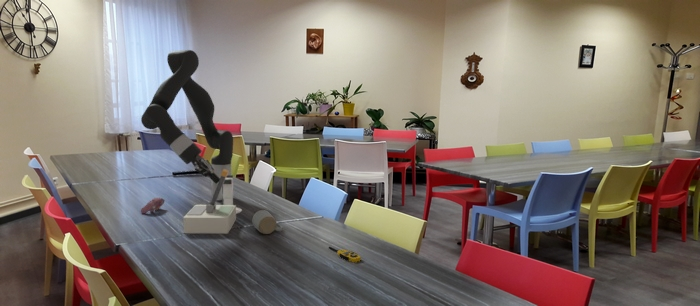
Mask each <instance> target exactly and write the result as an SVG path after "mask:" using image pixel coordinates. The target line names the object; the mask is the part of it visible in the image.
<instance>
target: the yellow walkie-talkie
mask: <svg viewBox="0 0 700 306" xmlns="http://www.w3.org/2000/svg"><path fill="white" fill-rule="evenodd" d="M328 249H330V250H332V251H334V252H336V254H338V255H339V256H340V257H341V258H340V257H339V256H338V255H337V256H338V257H339V258H340V259H342V258H343V259H342V260H344V259H345V261H347V260H348V261H347V262H350V261H352V262H351V263H354V262H355V263H358V262H357V261H359V262H361V261H362V257H361V256H360V255H359V254H358V253H356V252H353V251H350V250H348V249H340V250H338V249H336V248H333V247H332V246H328ZM360 260H361V261H360Z"/></svg>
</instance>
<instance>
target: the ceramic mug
mask: <svg viewBox="0 0 700 306" xmlns="http://www.w3.org/2000/svg"><path fill="white" fill-rule="evenodd" d="M251 222H252V226H253V227H254V228H255V229H256V230H257V231H258V232H260V233H261V234H262V235H270V234H272V233H274V232H275V231H277V232H282V230H283V226H282V225H281V224H279V223H277V220H276V219H275V217H274V216H273V215H272V214H271V213H270V212H269V211H268V210H265V209H261V210H258V211H256V212H255V213H254V214H253V217H252V220H251Z"/></svg>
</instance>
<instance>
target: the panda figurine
mask: <svg viewBox="0 0 700 306" xmlns="http://www.w3.org/2000/svg"><path fill="white" fill-rule="evenodd" d="M222 193H223V199H222V200H221V201H222V204H221V205H234V175H232V174H231V175H227V176H226V179H225V181H224V184H223V186H222ZM241 212H242V208H241V207H237V206H236V215H237V214H240V213H241Z"/></svg>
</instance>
